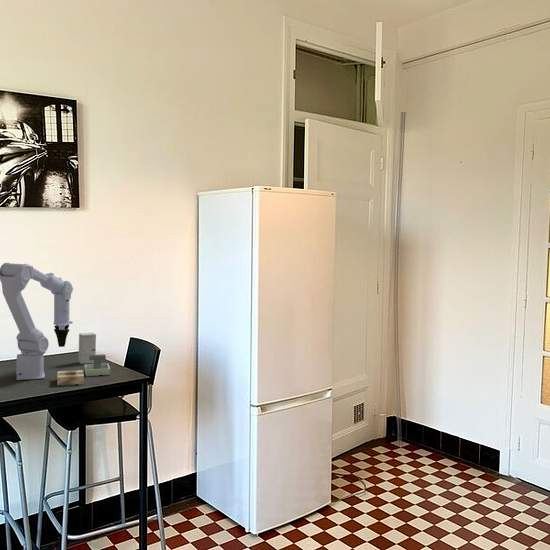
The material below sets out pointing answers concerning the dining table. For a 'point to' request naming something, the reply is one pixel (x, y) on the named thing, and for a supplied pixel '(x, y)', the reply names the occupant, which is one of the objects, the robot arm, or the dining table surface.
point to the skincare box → (86, 347)
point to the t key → (97, 360)
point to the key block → (70, 377)
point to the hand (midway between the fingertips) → (61, 344)
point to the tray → (97, 370)
